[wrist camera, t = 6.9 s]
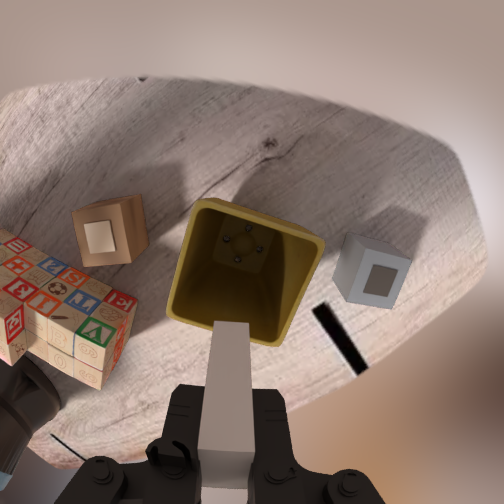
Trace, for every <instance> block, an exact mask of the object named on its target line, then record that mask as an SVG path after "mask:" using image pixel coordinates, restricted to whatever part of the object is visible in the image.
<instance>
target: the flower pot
mask: <svg viewBox="0 0 504 504" xmlns="http://www.w3.org/2000/svg"><path fill="white" fill-rule="evenodd" d="M247 225H251V226H252V229H251V230H250V231H247V230H246V226H247ZM224 236H229V238H230V240H229V241H225V240H224ZM325 245H326V242H325V240H323V239H322V238H320V237H318V236H317V235H315V234H314V233H312V232H310V231H309V230H307V229H305V228H303V227H301V226H299V225H297V224H294V223H291V222H287V221H284V220H281V219H278V218H275V217H272V216H269V215H266V214H263V213H260V212H257V211H254V210H251V209H248V208H245V207H242V206H239V205H236V204H233V203H230V202H228V201H225V200H222V199H219V198H205V199H198V200H197V201H196V202H195V203H194V205H193V207H192V211H191V214H190V218H189V221H188V225H187V229H186V233H185V236H184V240H183V244H182V248H181V251H180V255H179V259H178V262H177V267H176V270H175V274H174V278H173V282H172V286H171V290H170V293H169V297H168V302H167V306H166V315H167V316H168V317H170V318H172V319H174V320H177V321H180V322H183V323H186V324H190V325H193V326H197V327H200V328H203V329H207V330H210V331H213V326H214V321H225V322H240V323H249V337H250V342H253V343H257V344H261V345H264V346H271V347H279V346H280V345H281V344H282V342H283V340H284V338H285V336H286V334H287V332H288V329H289V327H290V325H291V322H292V320H293V318H294V316H295V313H296V311H297V309H298V307H299V304H300V302H301V300H302V298H303V296H304V293H305V291H306V289H307V287H308V285H309V283H310V281H311V279H312V277H313V274H314V272H315V270H316V268H317V266H318V263H319V261H320V259H321V257H322V255H323V252H324V249H325ZM259 246H261V247H262V248H263V250H262V251H261V252H258V251H257V247H259ZM236 257H240V258H241V261H240V262H236V261H235V258H236Z"/></svg>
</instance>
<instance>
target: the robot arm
mask: <svg viewBox="0 0 504 504" xmlns="http://www.w3.org/2000/svg"><path fill="white" fill-rule="evenodd" d="M60 406H61V403H60V399H59V396H58V394H57V392H56V390H55V388H54V387H53V385H52V384H51V382H50V381H49V380H48V379H47V377H46V376H45V375H44V374H43V373H42V372H41V371H40V370H39V369H38V368H37V367H36V366H35V365H34V364H33V363H32V362H31V361H30V360H28V359H27V358H26V357H25V356H23V355H22V356H21V357H20V358H19V359H18V361H17V362H16V363H15V364H14V365H13V366H10V365H9V364H7V363H6V362H5V361H3V360H2V359H1V358H0V490H3V489H4V488H5V486H6V485H7V483H8V482H9V480H10V478H11V477H12V476H13V475H12V474H13V472H14V470H15V468H16V466H17V464H18V462H19V460H20V458H21V456H22V454H23V452H24V450H25V448H26V447H27V445H28V443H29V441H30V439H31V437H32V436H33V434H34V433H35V432H36V431H37V430H38V429H40V428H41V427H42V426H43V425H45V424H46V423H47V422H48V421H51V420H52V419H54V417H55V416H56V414H57V413H58V411H59V409H60ZM145 452H146V455H147V457H148V460H146V461H144V462H140V463H129V464H119V463H117V462H116V461H115V460H113V459H112V458H109V457H106V456H95V457H92V458H89V459H88V460H87V461H85V462H84V463H83V464H82V466H81V467H80V468H79V470H78V471H77V473H76V474H75V475H74V477H73V478H72V479H71V481H70V482H69V483H68V485H67V486H66V488H65V489H64V490H63V492H62V493H61V494H60V496H59V497H58V499H57V500H56V501H55V502H54V504H201V487H212V488H228V489H247V488H248V501H247V504H385V502H384V501H383V499H382V498H381V496H380V495H379V493H378V492H377V490H376V489H375V487H374V486H373V484H372V483H371V481H370V480H369V478H368V477H367V476H366V475H365V474H364V473H362V472H360V471H358V470H353V469H346V470H341V471H339V472H337V473H335V474H333V475H328V474H322V473H316V472H312V471H309V470H307V469H304V468H303V467H302V466H300V465H299V464H298V463H297V461H296V460H295V458H294V455H293V450H292V444H291V438H290V431H289V425H288V422H287V413H286V407H285V401H284V398H283V397H282V395H281V394H280V393H279V391H278V390H277V389H252V380H251V359H250V337H249V323H240V322H225V321H214V326H213V333H212V340H211V347H210V354H209V361H208V369H207V376H206V384H205V386H194V385H185V384H179V385H178V387H177V388H176V389H175V390H174V391H173V392H172V395H171V399H170V403H169V407H168V411H167V415H166V419H165V424H164V428H163V432H162V437H161V438H158V439H155V440H154V441H153V442H151V443H150V444H149V445H148V447H147V449H146V451H145Z"/></svg>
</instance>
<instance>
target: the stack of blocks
mask: <svg viewBox="0 0 504 504" xmlns="http://www.w3.org/2000/svg"><path fill="white" fill-rule="evenodd" d="M137 303H138V300H137V299H135V298H133V297H131V296H128V295H126V294H124V293H122V292H119V291H117V290H114V289H113V288H112V287H110V286H108V285H106V284H104V283H102V282H100V281H98V280H96V279H93V278H91V277H89V276H88V275H86V274H84V273H82V272H80V271H78V270H76V269H74V268H72V267H69V266H67V265H65V264H63V263H62V262H60V261H58V260H56V259H54V258H52V257H50V256H48V255H46V254H45V253H43V252H41V251H39V250H37V249H36V248H34V247H33V246H31V245H30V244H28V243H26V242H25V241H23V240H21V239H20V238H18V237H16V236H15V235H13V234H12V233H10V232H8V231H7V230H5V229H0V358H1V359H2V360H3V361H5V362H6V363H7V364H9V365H10V366H13V365H14V364H15V363H16V362H17V361H18V359H19V358H20V357H21V356H22V355H23V354H24V353H25V352H26V351H27V350H28V351H30V352H31V353H33V354H34V355H36V356H38V357H39V358H41V359H43V360H44V361H46V362H48V363H49V364H50V365H52V366H54V367H55V368H57V369H59V370H61V371H62V372H64V373H66V374H68V375H69V376H71V377H74V378H76V379H78V380H80V381H81V382H83V383H85V384H87V385H89V386H91V387H93V388H95V389H97V390H100V391H101V389H102V387H103V386H104V384H105V382H106V380H107V378H108V376H109V375H110V373H111V371H112V370H113V368H114V366H115V364H116V363H117V361H118V359H119V357H120V355H121V353H122V351H123V349H124V347H125V345H126V343H127V342H128V340H129V335H130V331H131V327H132V323H133V319H134V316H135V312H136V308H137Z"/></svg>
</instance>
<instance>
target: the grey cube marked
mask: <svg viewBox="0 0 504 504" xmlns="http://www.w3.org/2000/svg"><path fill="white" fill-rule="evenodd" d="M411 262H412V260H411V259H410V258H408V257H407V256H406V255H404V254H403V253H402V252H400V251H399V250H398V249H396V248H395V247H394V246H392V245H391V244H389V243H386V242H382V241H379V240H375V239H371V238H368V237H364V236H360V235H357V234H353V233H349V232H347V234H346V238H345V241H344V244H343V247H342V250H341V253H340V256H339V259H338V262H337V265H336V268H335V271H334V274H333V277H332V280H333V281H334V283H335V284H336V286H337V288H338V289H339V291H340V293H341V294H342V296H343V297H344V299H345V301H346V302H349V303H355V304H361V305H367V306H373V307H379V308H385V309H392V308H393V306H394V304H395V301H396V299H397V297H398V295H399V292H400V290H401V287H402V285H403V283H404V280H405V278H406V275H407V273H408V270H409V267H410V265H411Z"/></svg>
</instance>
